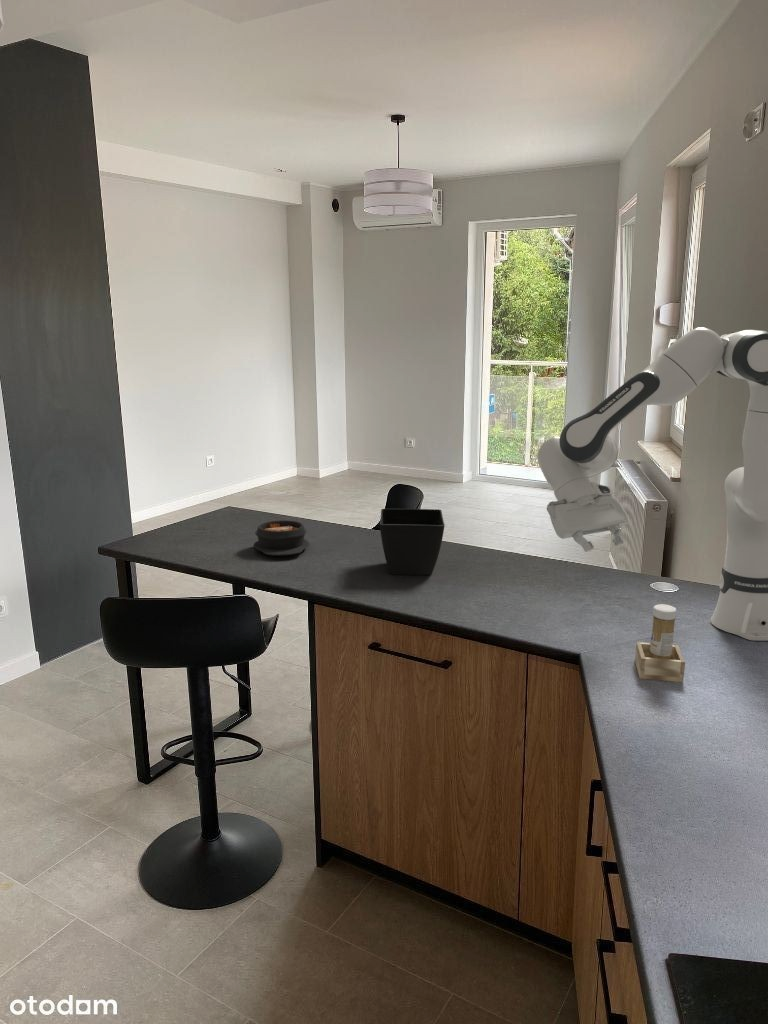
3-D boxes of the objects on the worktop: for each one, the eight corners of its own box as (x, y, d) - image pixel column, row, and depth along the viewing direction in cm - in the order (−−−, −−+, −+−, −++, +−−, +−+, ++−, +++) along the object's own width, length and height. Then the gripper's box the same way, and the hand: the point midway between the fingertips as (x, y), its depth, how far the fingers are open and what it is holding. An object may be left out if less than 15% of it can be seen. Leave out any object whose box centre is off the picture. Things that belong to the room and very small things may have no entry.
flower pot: (443, 579, 214) (444, 524, 210) (379, 578, 215) (379, 523, 211) (440, 560, 233) (441, 508, 229) (381, 559, 233) (381, 508, 229)
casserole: (252, 541, 254) (251, 518, 252) (305, 538, 257) (305, 515, 255) (254, 562, 230) (253, 536, 228) (313, 559, 234) (312, 533, 232)
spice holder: (676, 664, 159) (678, 645, 158) (683, 682, 151) (685, 662, 150) (634, 660, 161) (636, 641, 159) (639, 678, 152) (641, 658, 151)
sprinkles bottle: (644, 662, 157) (649, 603, 154) (664, 661, 158) (670, 603, 155) (653, 671, 153) (659, 611, 150) (674, 671, 153) (680, 611, 150)
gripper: (550, 495, 166) (578, 546, 160) (616, 486, 176) (644, 534, 170) (537, 510, 171) (563, 560, 165) (601, 500, 181) (628, 548, 175)
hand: (605, 547), depth 167 cm, fingers open, 8 cm apart
